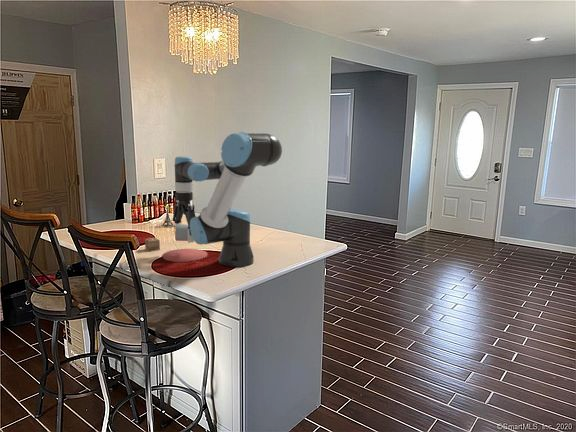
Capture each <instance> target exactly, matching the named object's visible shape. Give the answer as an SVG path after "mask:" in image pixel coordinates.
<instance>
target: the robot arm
mask: <svg viewBox="0 0 576 432" xmlns="http://www.w3.org/2000/svg"><path fill="white" fill-rule="evenodd" d="M220 150H221V152H220V154H221V155H220V156H221V161H215V162H213V161H212V162H209V161H207V162H193V158H192V157H191V156H182V155H181V156H176V157H175V158H174V166H173V167H174V191H175V201H174V208H173V215H172V222H174V226H175V225H177V224H183V221H182V219H183V216H184V215H185V220H186V223H187V225H188V226H189V227H188V241H187V243H188V244H189V243H194V242H195V243H196V244H197V245H200V246H201V245H209V244H214V243H219V242H220V243H221V242H222V246H221V247H222V248H221V251H220V254H219V257H218V263H219V264H220V265H223V266H226V267H236V268H237V267H245V266H246V267H247V266H250V265H253V263H254V262H255V261H254V260H255V257H254V254H253V250H252V248H251V247H252V246H251V215H250V213H249V212H248V211H246V210H242V209H232V207H233V204H234V202H235V200H236V198H237V197H238V194H239V192H240V190H241V188H242V186H243V184H244V182H245V179H246V178H247V177H250V176H252V174H254V171H255V169H256V168H257V167H268V166H272V165H274V164H276V163H277V162H278V161H279V160H280V159H281V157H282V154H283V153H282V152H283V147H282V144H281V142H280V140H279V139H278V138H277V137H275V135H273V134H270V133H259V132H258V133H256V132H255V133H252V132H251V133H246V132H234V133H230V134H229V135H227V136H226V137H225V138H224V140H223V142H222V144H221V149H220ZM208 180H209V181H211V180H218V181H217V184H216V186H215V188H214V191H213V193H212V196H211V198H210V200H209V202H208V204H207V205H206V207H203V208H202V209H201V211H200V213H199V215H198V216H197V215H196V211H195V205H194V204H191V201H193V199H194V198H193V197H194V195H193V186H194V184H193V182H204V181H208Z"/></svg>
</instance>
